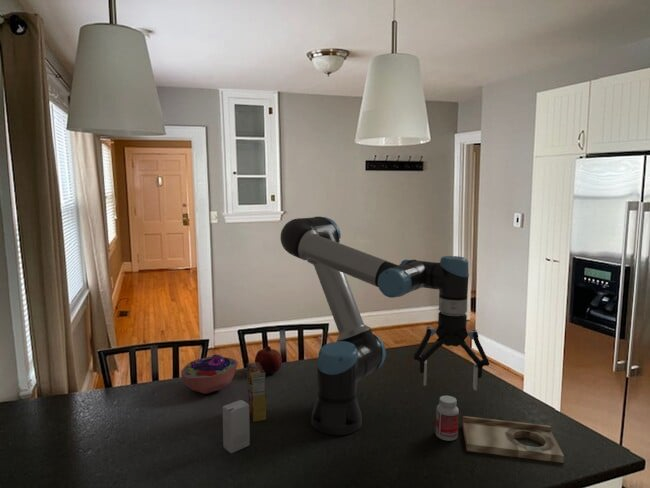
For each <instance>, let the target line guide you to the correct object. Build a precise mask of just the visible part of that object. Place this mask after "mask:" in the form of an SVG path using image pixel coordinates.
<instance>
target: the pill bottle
mask: <svg viewBox="0 0 650 488" xmlns="http://www.w3.org/2000/svg"><path fill="white" fill-rule="evenodd" d="M457 405H458V403H457V398H456V397H454V396H451V395H442V396H440V397H439V403H438V404H437V406H436V410H435V413H436V414H435V416H436V417H435V435H436V438H439V439H440V440H443V441H449V442H451V441H454V440H457V438H459V437H458V436H459V435H458V434H459V417H460V416H459V415H460V412H459V410H460V409H459V408H458V406H457Z"/></svg>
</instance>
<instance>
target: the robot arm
mask: <svg viewBox="0 0 650 488" xmlns="http://www.w3.org/2000/svg"><path fill="white" fill-rule="evenodd" d="M340 239H341V230H340V228H339V226H338V224H337V223H336V222H335V221H334V220H333V219H331V218H329V217H326V216H312V217H299V218H298V217H297V218H294V219H291V220H289V221H288V222H286V223H285V225H283V227H282V229H281V232H280V243H281V246H282V248H283V249H284V250H285V251H286V252H287V253H288V254H290V255H291V256H293V257H295V258H297V259H300V260H302V261H306V262H307V263H309V264H311V265H313V267H314V269H315V272H316V275H317V277H318V279H319V283H320V285H321V287H322V292H323V294H324V295H325V299H326V302H327V305H328V307H329V310H330V311H331V315H332V318H333V321H334V323H335V325H336V326H335V327H336V328H337V330H338V336H337V339H336V341H331V342H328V343H326V344H324V345H323V346H322V347H320V349H319V351H318V355H317V360H316V361H317V362H316V364H317V365H316V366H317V398H316V401H315V403H314V406H313V409H312V411H311V412H312V413H311V422H310V423H311V425H312V427H313V428H314V429H315V430H316V431H318V432H320V433H322V434H325V435H329V436H330V435H331V436H345V435H350V434H353V433H355V432H357V431H358V430H360V428H362V425H363V423H362V422H363V421H362V418H363V415H362V412H361V409H360V406H359V402H358V399H357V398H358V397H357V385H358V383H359V381H361V380H362V379H364V378H366V377H367V376H369V375H370V374H374V373H375V372H376V371H377V370H379V368H381V367H382V366H383V364H384V362H385V359H386V355H387V352H386V347H385V343H384V342H383V340H382V339H381V338H380V337H379V336H378V335H377V334H374V333H373V331H372V329H371V327H370V326H368V325H366V324H365V323H364V320H363V317H362V315H361V312H360V310H359V307H358V304H357V303H356V300H355V297H354V295H353V292H352V289H351V287H350V285H349V281H348V279H347V276H351V277H352V278H355V279H358V280H360V281H362V282H364V283H367V284H369V285H372V286H375V287H377V288H378V290H379V291H380V292H381V294H382V295H383V296H385V297H387V298H393V299H394V298H399V297H403V296H405V295H407V294H409V293H411V292H413V291H417V290H419V289H433V290H438V291H439V294H438V311H439V312H438V314H437V315H438V319H437V328H431V326H427V327H426V330H425V335H424V336H423V338H422V340H421V341H420V343H419V345H418V347H417V348H416V349H415V351H414V354H413V360H415V361H418V362H419V373H420V374H423V387H424V386H427V382H428V381H427V380H428V379H427V378H428V377H427V374H428V359H429V358H430V357H431V356H432V355H433V354H434V353H435V352H436V351H437V350H438V349H439V348H440V347H442V346H443V345H445V347H446V346H447V347H451V346H452V347H456V348H457V347H459V346H460V347H462V349H463V351H465V352H466V354H467V355H468V356H469V357H470V359H472V361H473V362H474V364H473V378H472V388H473V390H474V391H478V379H482V375H483V374H482V373H483V367H486V366H487V367H488V366H489V365H490V362H489V359H488V357H487V355H486V353H485V351H484V348H483V346H482V344H481V342H480V340H479V333H478V331H477V329H472V330H469V331H468V330H467V314H466V313H467V312H468V291H469V276H470V273H469V270H470V269H469V261H468V259H467V258H466V257H464V256H457V255H456V256H453V255H447V256H446V255H445V256H441V258H440V261H439V262H435V261H434V262H433V261H425V260H419V259H418V260H417V259H403V260H402V261H401V263H399V264H396V263H393V262H391V261H388V260H385V259H383V258H380V257H378V256H374V255H372V254H370V253H367V252H364V251H361V250H359V249H357V248H356V249H355V248H353V247H351V246H348V245H346V244H343V243H340V241H341V240H340ZM346 275H347V276H346ZM435 334H436V336H437V337H438V338H437V339H436V340H435V341H434V342H433V343H432V344H431V346H429V347H428V349H426V350H425V347H426V346H427V344H428V343H429V341H430V338H431V337H433V336H434V335H435ZM467 337H469V338H470V339H471V340H473V343H474V344H475V347H476V348H477V351H478V352H479V354H480V357H481V359H480V358H479V357H478V355H477V354H476V353H475V352H474V350H472V348H471V347H470V346H469V345H468V343H467V341H466V339H467ZM424 350H425V352H423V351H424Z"/></svg>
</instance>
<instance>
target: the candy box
mask: <svg viewBox="0 0 650 488" xmlns="http://www.w3.org/2000/svg"><path fill="white" fill-rule="evenodd" d="M246 369H247V370H246V371H247V397H248V398H247V404H249V414H250V416H251V418H252V422H253V423H254V422H255V423H256V422H260V421H265V420H267V400H266V399H267V395H266V394H267V393H266V389H267V388H266V373H265V372H264V370H263V368H262V366H261V365H260V363H259V362H255V361H254V362H248V363H247V364H246Z"/></svg>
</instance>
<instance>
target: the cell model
mask: <svg viewBox="0 0 650 488" xmlns="http://www.w3.org/2000/svg"><path fill="white" fill-rule="evenodd" d="M238 364H239V362H238V361H237V360H236V359H233V358H229V357H226V356H222V355H221V354H213V355H212V356H207V357H203V358H198V359H194V360H192V361H190V362H189V363H187V364H186V365H185V366H184V367H183V368H182V370H181V371H180V373H181V380H182V383H183V384H184V385H185V386H187V387H188V388H189V389H191V390H192V391H194V392H197V393H201V394H203V395H204V394H205V395H206V394H211V393H213V392H217V391H222V390H224V389H225V388H227V386H228V385H230V383H231V382H232V380H233V379H234V377H235V375H236V371H237V367H238Z"/></svg>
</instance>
